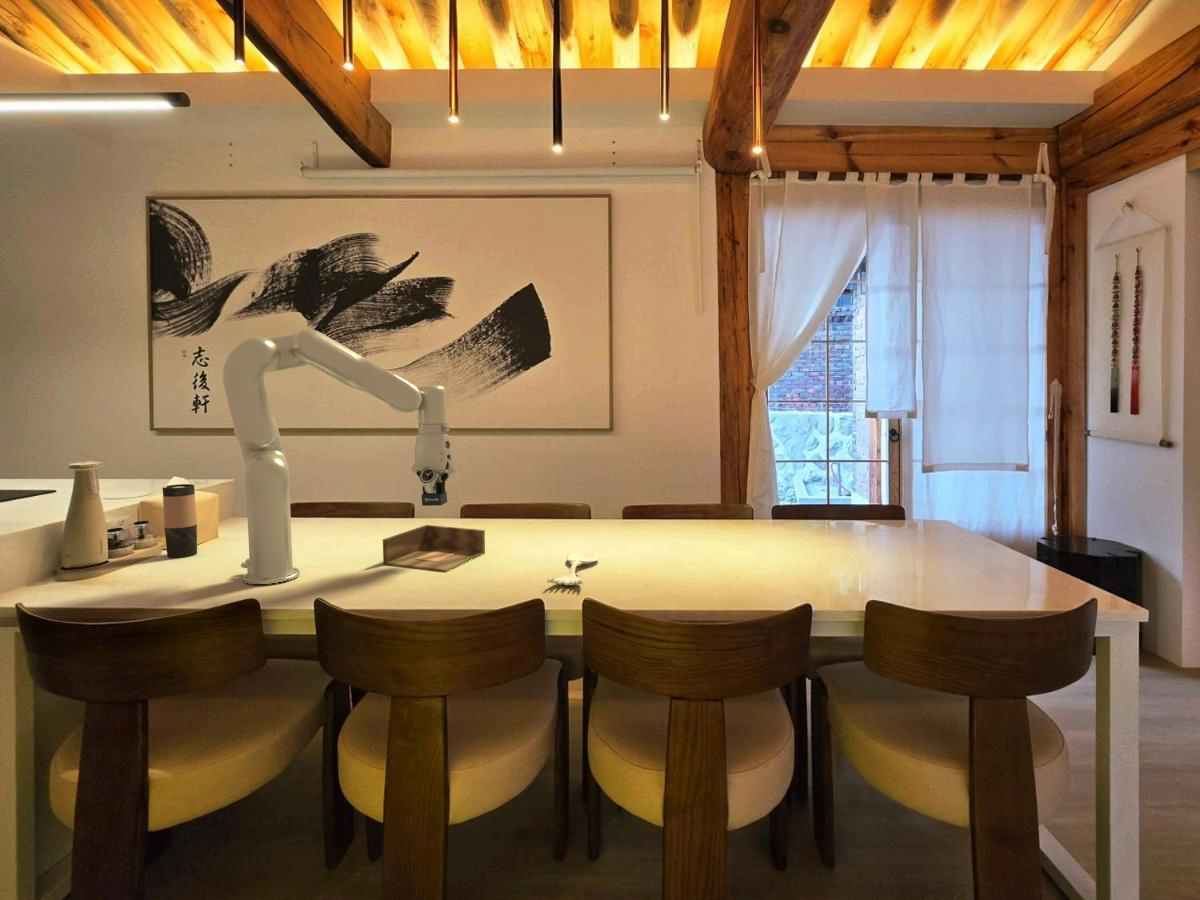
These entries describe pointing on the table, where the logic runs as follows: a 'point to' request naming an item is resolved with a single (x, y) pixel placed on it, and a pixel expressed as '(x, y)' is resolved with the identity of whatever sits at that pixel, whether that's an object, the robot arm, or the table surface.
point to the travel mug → (180, 520)
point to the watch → (431, 488)
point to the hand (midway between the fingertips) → (433, 494)
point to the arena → (433, 547)
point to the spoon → (576, 560)
